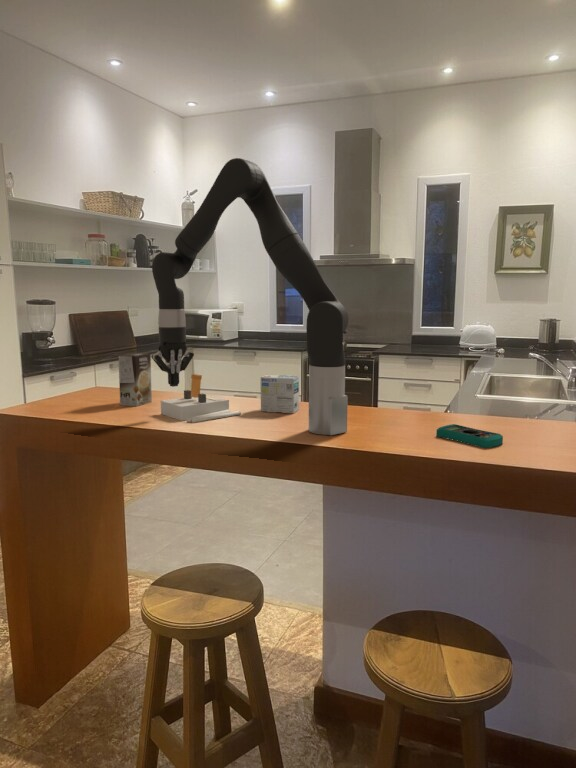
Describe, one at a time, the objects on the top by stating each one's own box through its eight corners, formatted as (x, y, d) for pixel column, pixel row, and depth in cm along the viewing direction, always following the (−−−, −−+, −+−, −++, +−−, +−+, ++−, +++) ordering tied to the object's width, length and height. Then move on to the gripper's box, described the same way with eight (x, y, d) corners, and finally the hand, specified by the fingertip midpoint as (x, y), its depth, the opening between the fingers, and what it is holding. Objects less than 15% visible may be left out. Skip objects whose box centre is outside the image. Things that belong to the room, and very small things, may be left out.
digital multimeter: (487, 450, 130) (488, 438, 130) (434, 438, 142) (435, 426, 141) (505, 445, 135) (505, 433, 134) (452, 433, 146) (453, 422, 146)
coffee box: (137, 406, 178) (135, 356, 176) (119, 405, 180) (117, 355, 178) (152, 401, 187) (150, 353, 185) (135, 400, 189) (133, 352, 187)
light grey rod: (240, 415, 166) (240, 411, 166) (193, 423, 156) (193, 418, 156) (238, 414, 167) (238, 410, 167) (191, 422, 157) (191, 418, 157)
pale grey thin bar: (230, 413, 168) (230, 409, 168) (189, 422, 156) (189, 418, 156) (227, 413, 169) (227, 409, 169) (186, 422, 157) (186, 417, 157)
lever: (200, 397, 167) (201, 375, 166) (195, 397, 166) (197, 375, 165) (194, 396, 169) (196, 374, 169) (190, 396, 168) (191, 374, 168)
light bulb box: (299, 409, 175) (299, 375, 173) (294, 414, 168) (294, 378, 167) (266, 407, 177) (266, 373, 176) (260, 412, 171) (259, 376, 169)
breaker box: (229, 413, 169) (228, 392, 168) (182, 420, 159) (181, 398, 158) (206, 407, 178) (206, 387, 177) (161, 414, 168) (160, 392, 167)
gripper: (157, 326, 153) (159, 390, 155) (199, 325, 161) (200, 385, 164) (144, 325, 158) (146, 386, 161) (185, 324, 167) (187, 382, 170)
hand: (173, 386), depth 162 cm, fingers closed
